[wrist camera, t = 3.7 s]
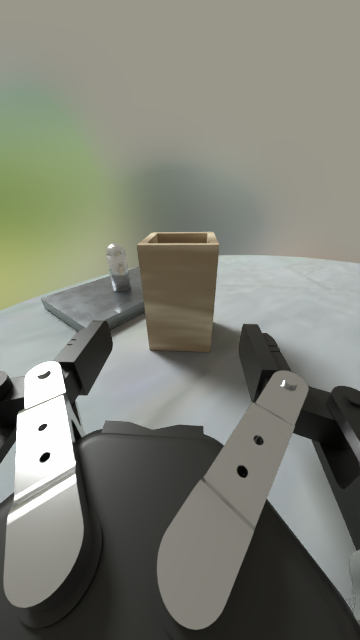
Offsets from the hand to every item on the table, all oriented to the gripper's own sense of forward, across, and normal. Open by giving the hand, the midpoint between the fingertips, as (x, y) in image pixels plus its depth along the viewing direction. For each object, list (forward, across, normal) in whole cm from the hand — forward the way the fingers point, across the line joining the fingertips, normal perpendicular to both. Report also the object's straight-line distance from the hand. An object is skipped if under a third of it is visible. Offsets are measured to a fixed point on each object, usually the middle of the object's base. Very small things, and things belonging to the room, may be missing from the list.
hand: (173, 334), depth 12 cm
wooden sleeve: (+8, 0, +6) cm, 10 cm away
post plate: (+18, +10, +6) cm, 21 cm away
